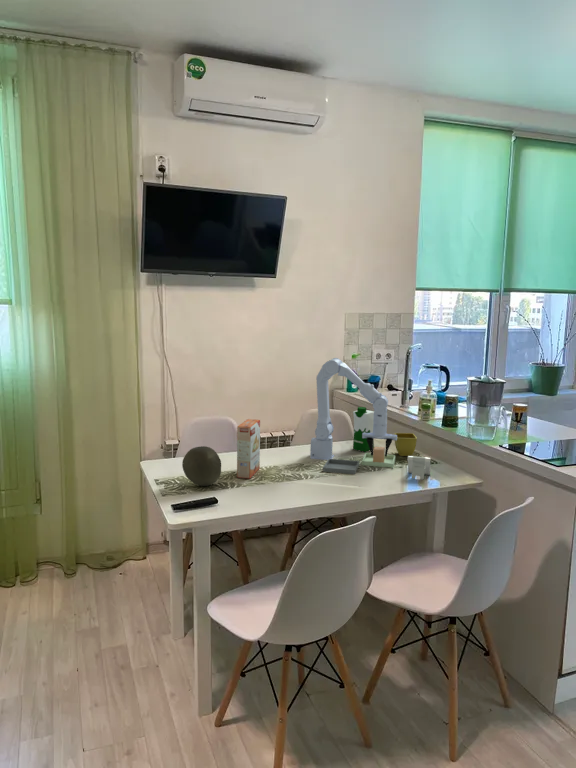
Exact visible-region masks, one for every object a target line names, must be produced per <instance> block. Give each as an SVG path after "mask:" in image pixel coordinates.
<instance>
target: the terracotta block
mask: <svg viewBox="0 0 576 768" xmlns="http://www.w3.org/2000/svg"><path fill="white" fill-rule="evenodd" d="M385 450H386V446H374V449H373V462H382V463H384V458H385Z"/></svg>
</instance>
